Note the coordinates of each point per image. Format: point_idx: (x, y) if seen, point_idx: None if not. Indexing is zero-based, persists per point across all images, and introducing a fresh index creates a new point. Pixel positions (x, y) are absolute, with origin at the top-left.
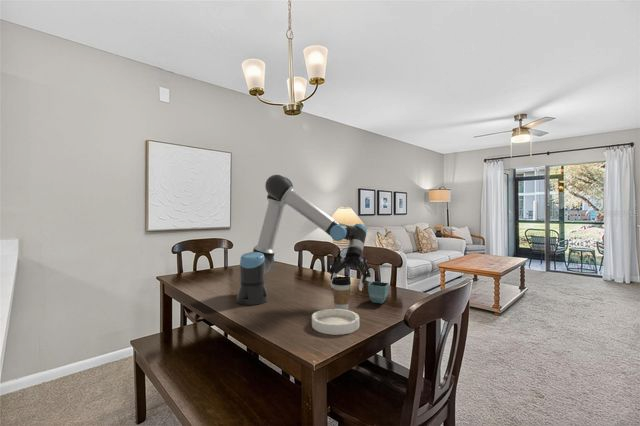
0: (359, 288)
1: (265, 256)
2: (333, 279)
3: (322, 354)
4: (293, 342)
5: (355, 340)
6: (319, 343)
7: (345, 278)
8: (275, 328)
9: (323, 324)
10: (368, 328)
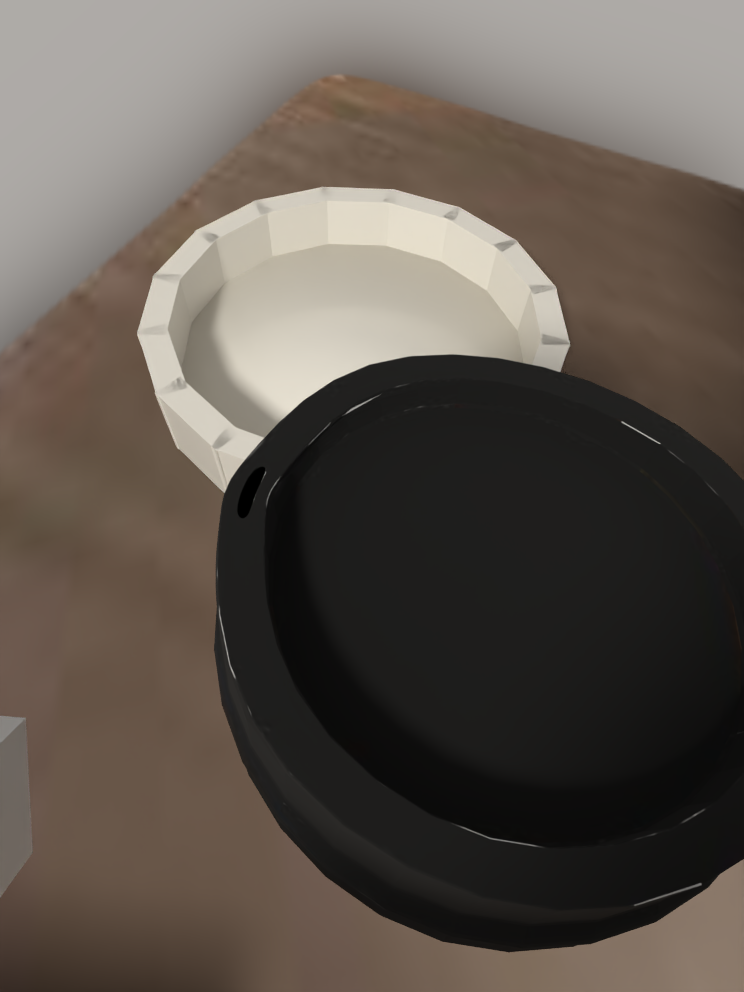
0: (18, 763)
1: None
2: (696, 451)
3: (321, 107)
4: (498, 153)
5: (180, 218)
6: (369, 165)
7: (431, 791)
8: (707, 245)
9: (396, 194)
10: (85, 371)
